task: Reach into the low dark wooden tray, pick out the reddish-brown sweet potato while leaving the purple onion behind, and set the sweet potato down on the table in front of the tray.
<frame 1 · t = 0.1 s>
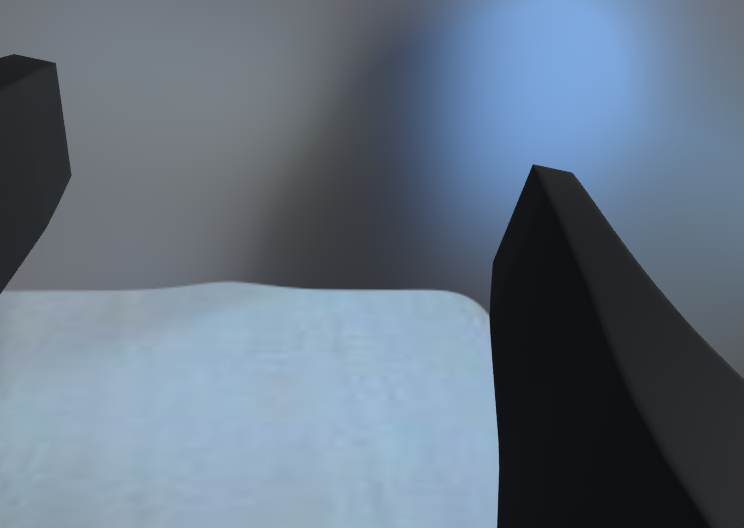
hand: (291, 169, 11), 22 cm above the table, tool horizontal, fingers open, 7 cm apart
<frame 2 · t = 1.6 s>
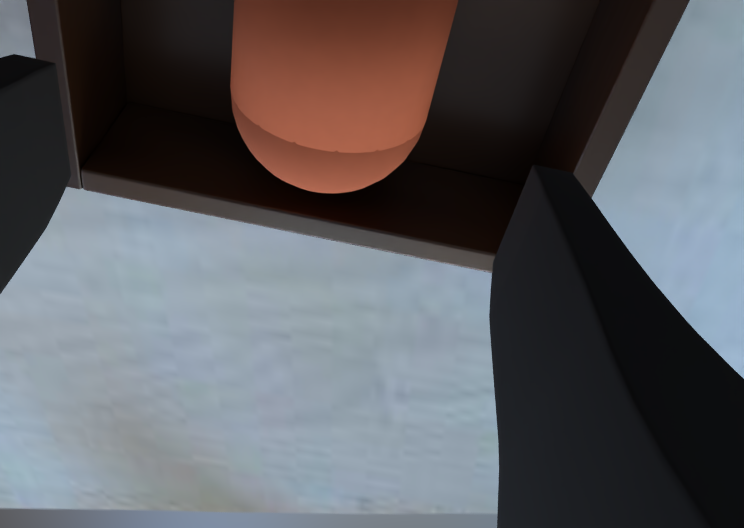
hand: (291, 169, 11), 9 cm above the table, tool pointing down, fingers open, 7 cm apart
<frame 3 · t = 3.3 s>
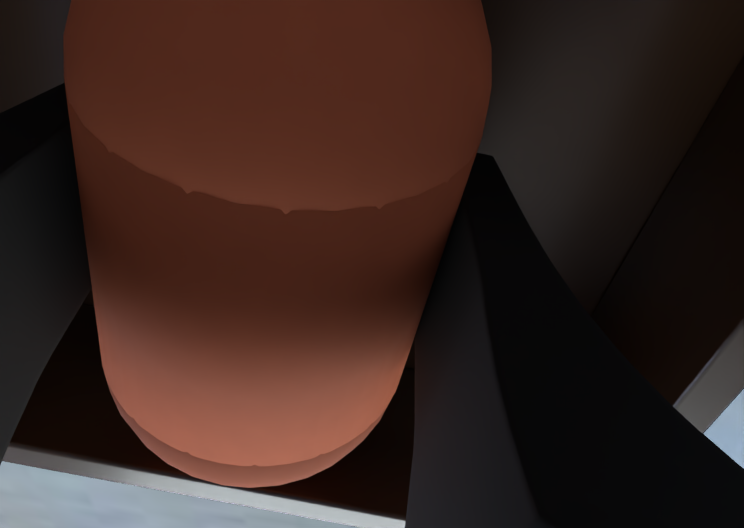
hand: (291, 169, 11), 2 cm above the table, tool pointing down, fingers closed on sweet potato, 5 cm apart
sweet potato: (300, 133, 12), point 1 cm above the table, touching dark wooden tray, gripper
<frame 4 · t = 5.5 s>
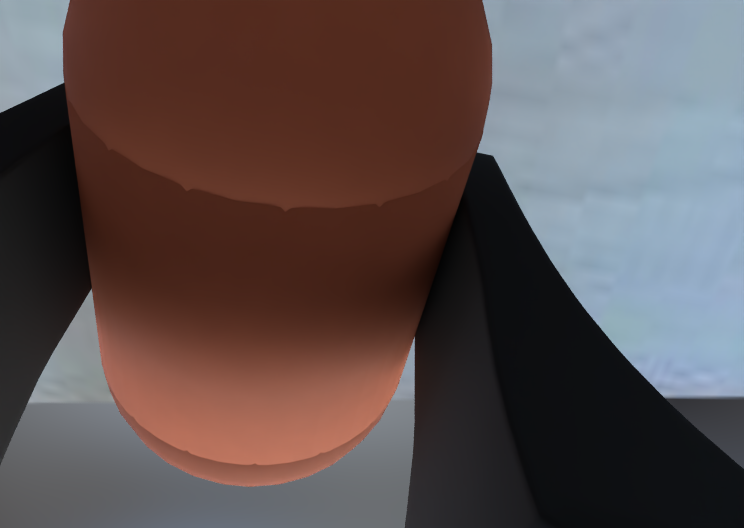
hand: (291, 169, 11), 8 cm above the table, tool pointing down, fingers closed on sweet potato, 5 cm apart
sweet potato: (300, 132, 12), point 7 cm above the table, touching gripper
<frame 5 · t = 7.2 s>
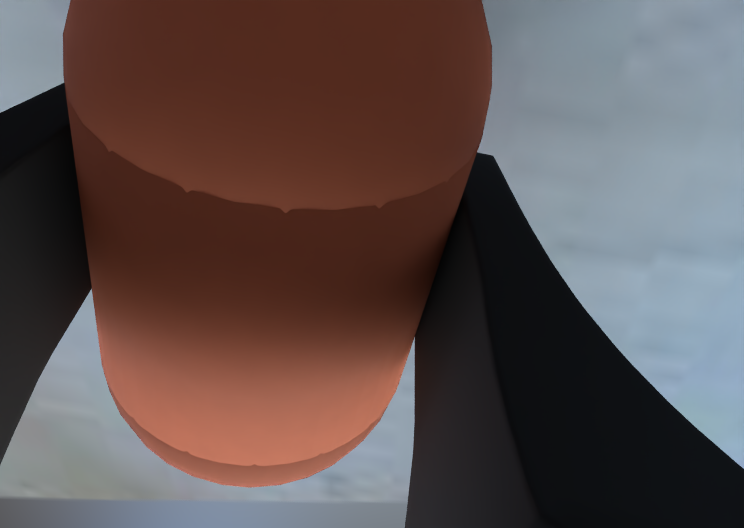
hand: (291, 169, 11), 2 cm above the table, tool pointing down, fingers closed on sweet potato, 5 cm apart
sweet potato: (300, 133, 12), point 1 cm above the table, touching gripper
when the fingers open (1 cm above the table, at t = 8.1 s): sweet potato stays where it is, on the table.
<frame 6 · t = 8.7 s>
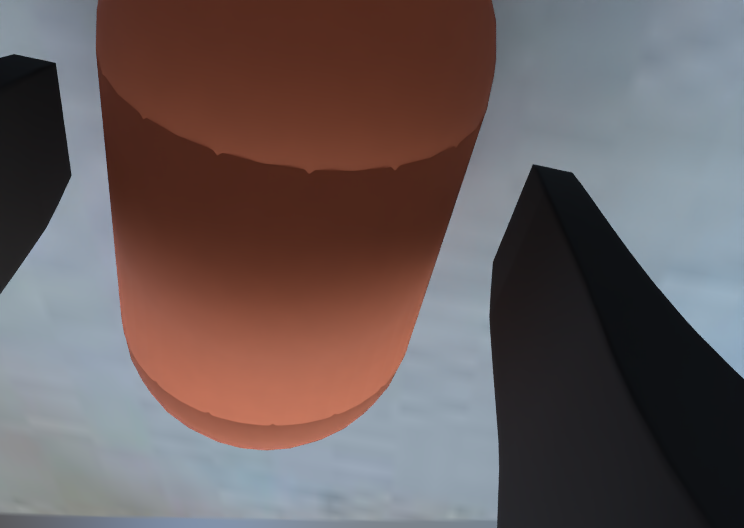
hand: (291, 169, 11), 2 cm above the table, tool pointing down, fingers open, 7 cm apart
sweet potato: (309, 113, 12), on the table
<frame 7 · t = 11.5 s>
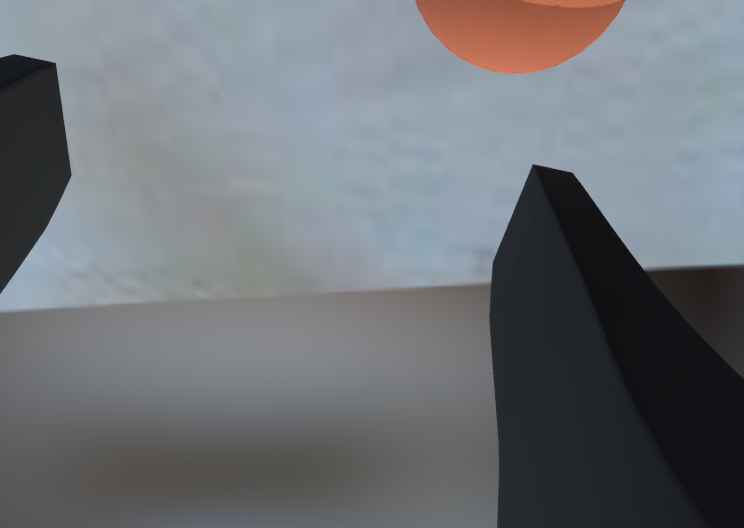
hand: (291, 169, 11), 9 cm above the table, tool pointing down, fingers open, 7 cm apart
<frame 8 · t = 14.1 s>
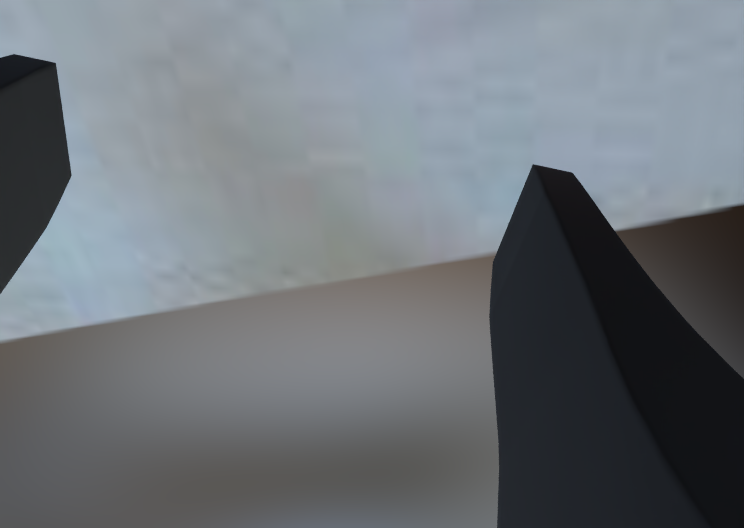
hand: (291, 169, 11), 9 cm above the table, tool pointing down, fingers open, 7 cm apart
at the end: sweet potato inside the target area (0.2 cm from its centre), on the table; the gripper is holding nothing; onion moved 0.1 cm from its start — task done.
